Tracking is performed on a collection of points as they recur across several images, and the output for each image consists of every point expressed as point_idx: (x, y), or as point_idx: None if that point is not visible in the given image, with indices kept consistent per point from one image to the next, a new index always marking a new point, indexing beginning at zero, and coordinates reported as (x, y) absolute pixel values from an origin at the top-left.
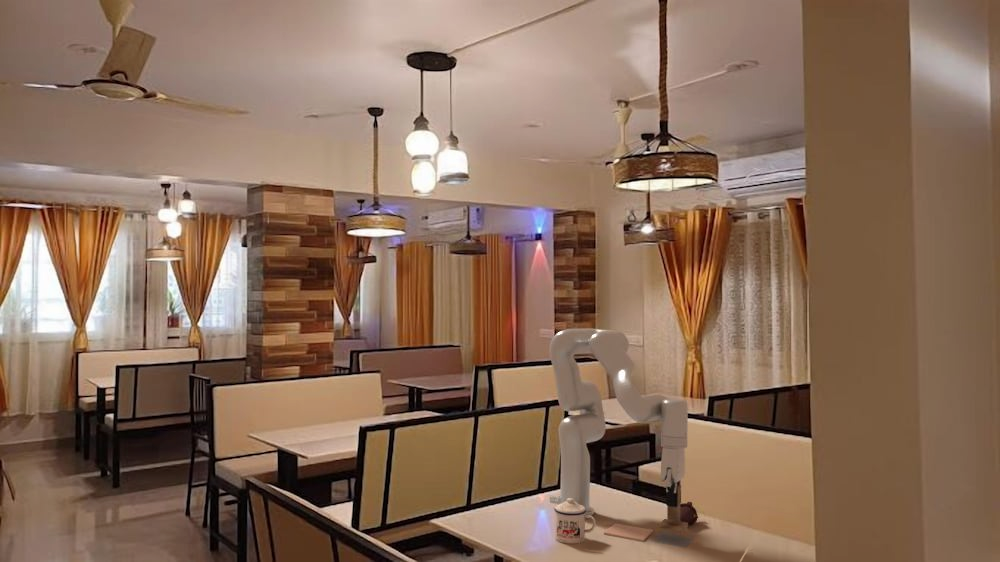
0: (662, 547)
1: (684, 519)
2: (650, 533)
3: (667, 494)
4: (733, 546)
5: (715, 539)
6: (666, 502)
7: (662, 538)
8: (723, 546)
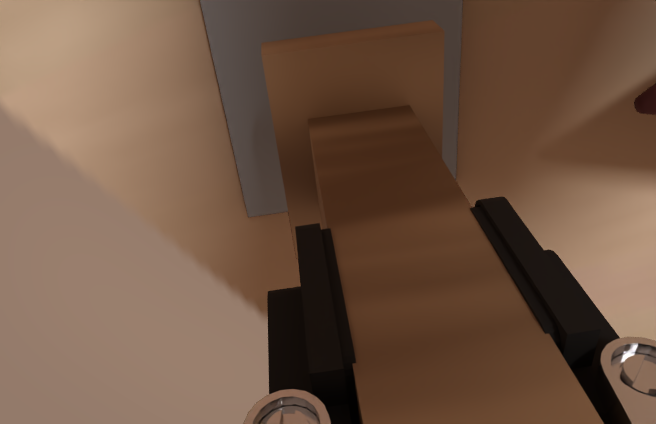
0: (153, 85)
1: (645, 112)
2: None
3: (307, 351)
4: None
5: None
6: (298, 248)
7: (314, 18)
8: None
